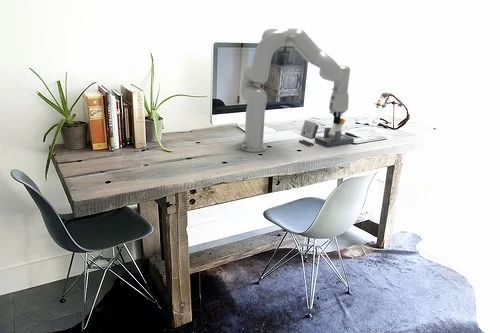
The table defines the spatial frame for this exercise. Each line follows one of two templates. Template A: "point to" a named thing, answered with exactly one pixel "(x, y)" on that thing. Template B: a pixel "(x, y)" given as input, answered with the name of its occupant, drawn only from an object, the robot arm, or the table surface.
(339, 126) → the breaker lever
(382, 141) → the table surface
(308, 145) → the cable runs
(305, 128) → the electrical switch
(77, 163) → the table surface
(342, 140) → the double window frame
